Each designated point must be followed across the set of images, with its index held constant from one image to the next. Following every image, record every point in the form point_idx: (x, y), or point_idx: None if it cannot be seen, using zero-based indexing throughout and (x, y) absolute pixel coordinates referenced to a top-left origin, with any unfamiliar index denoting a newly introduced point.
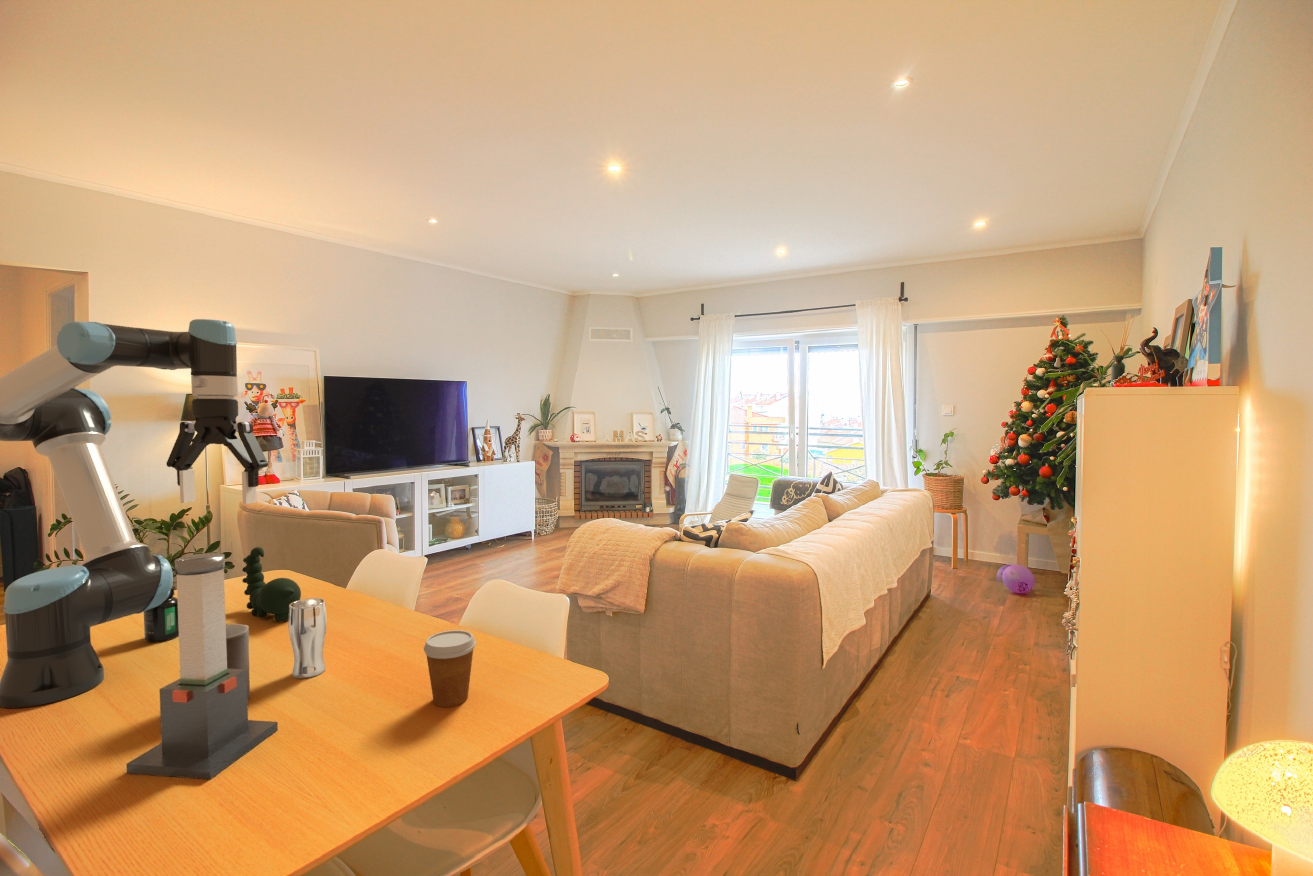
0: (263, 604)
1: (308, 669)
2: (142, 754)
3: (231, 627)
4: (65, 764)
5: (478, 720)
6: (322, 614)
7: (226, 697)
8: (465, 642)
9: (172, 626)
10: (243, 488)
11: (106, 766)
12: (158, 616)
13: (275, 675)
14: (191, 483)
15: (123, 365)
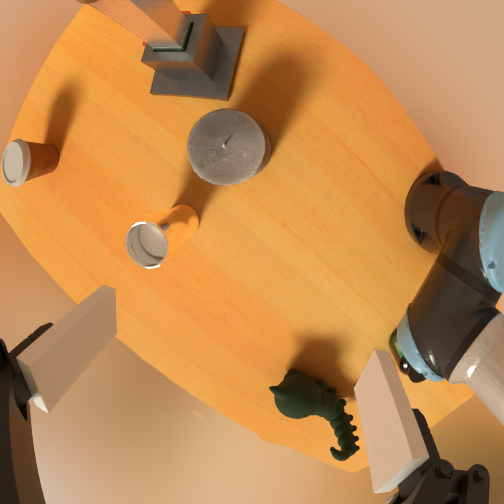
0: (309, 380)
1: (173, 208)
2: (240, 39)
3: (215, 164)
4: (312, 48)
5: (33, 129)
6: (132, 235)
7: None
8: (3, 154)
9: (395, 341)
10: (73, 318)
11: (271, 41)
12: None
13: (217, 216)
14: (373, 432)
15: None
